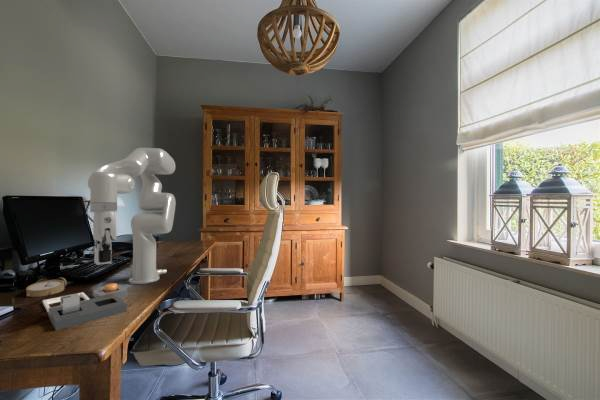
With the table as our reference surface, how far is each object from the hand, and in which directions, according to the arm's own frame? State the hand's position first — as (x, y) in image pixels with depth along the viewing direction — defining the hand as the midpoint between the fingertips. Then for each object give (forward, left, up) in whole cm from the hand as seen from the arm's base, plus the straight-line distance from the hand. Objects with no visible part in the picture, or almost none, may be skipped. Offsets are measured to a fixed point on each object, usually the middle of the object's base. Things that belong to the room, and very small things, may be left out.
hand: (103, 260), depth 93 cm
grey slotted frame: (+4, +1, -17) cm, 18 cm away
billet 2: (0, 0, -1) cm, 1 cm away
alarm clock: (+10, -38, -18) cm, 43 cm away
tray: (+7, -16, -17) cm, 25 cm away
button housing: (-5, -12, -17) cm, 22 cm away
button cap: (-5, -12, -15) cm, 20 cm away
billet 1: (+9, +1, -17) cm, 19 cm away
